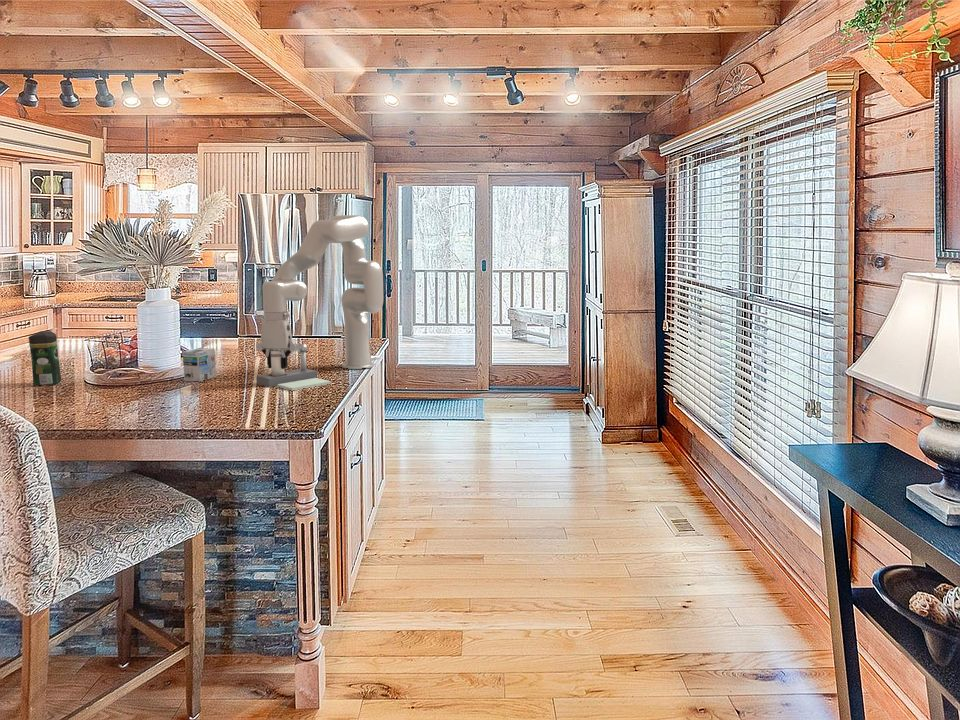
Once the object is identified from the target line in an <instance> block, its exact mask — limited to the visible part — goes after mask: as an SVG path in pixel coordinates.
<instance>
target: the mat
mask: <svg viewBox="0 0 960 720" xmlns="http://www.w3.org/2000/svg"><path fill="white" fill-rule="evenodd" d="M327 384H328V385H332V380H331V381H330V380H327V379H322V378H318V377H317V378H312V379H306V380H300V381H294V382H288V383H283V384H277V386H276V387H277V388H279V387H280V388H279V389H282V388H283V390H286V389H287V391H290V390H291V391H292V392H294V391H293V390H295V391H299V390H298V389H301V390H304V389H303V388H306V389H310V388H309V387H312V388H315V386H317V387H322V386H321V385H323V386H327Z"/></svg>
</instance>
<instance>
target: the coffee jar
mask: <svg viewBox="0 0 960 720" xmlns="http://www.w3.org/2000/svg"><path fill="white" fill-rule="evenodd" d="M28 344H29V345H28V347H29V351H30V358H31V368H32V369H31V371H32V380H33V381H32V382H33V385H34V386H35V385H48V386H55V385H59V383H61V381H62V375H61V367H60V359H59V351H58V338H57V334H56V333H55V332H53V331H52V330H42V331H38V332H36V333H34V334H31V335H30V336H28ZM54 384H55V385H54Z"/></svg>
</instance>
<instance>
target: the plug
mask: <svg viewBox="0 0 960 720" xmlns="http://www.w3.org/2000/svg"><path fill="white" fill-rule="evenodd" d="M270 352H271V353H270V355H271V368H270V369H271V370H270V371H271V373H272V376H273V377H278V376H284V375H285V373H284V371H285V368H284V369H282V368H281V358H282V354H281V350H280V349H275V350H271V351H270Z"/></svg>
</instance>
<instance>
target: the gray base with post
mask: <svg viewBox="0 0 960 720" xmlns="http://www.w3.org/2000/svg"><path fill="white" fill-rule="evenodd" d="M299 352H300V351H299ZM299 355H300V356H299V358H300V360H299V361H300V368H297V369H291V370H284V373H285V375H284V376H278V377H273V376H272V372H270V373H266V374H259V375H256V378H255V379H256V385H258V384H260V385H259V386H262V385H264V387H266V386H267V387H268V388H271V387H272V386H274V387H277V384H283V383H288V382H294V381H300V380H306V379H312V378H318V370H313V369H310V368H307V351H305V352H300V353H299Z"/></svg>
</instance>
